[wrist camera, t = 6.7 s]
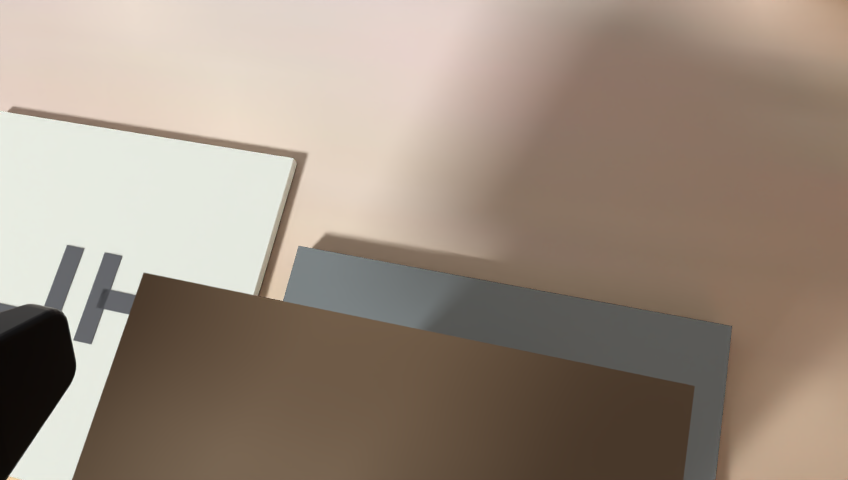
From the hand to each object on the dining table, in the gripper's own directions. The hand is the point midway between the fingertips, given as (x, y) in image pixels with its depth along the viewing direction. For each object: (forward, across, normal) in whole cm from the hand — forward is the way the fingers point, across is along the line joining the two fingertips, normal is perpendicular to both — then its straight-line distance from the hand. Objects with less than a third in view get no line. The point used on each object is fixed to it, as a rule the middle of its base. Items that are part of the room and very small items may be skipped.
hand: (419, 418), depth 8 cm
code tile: (+7, +10, +5) cm, 14 cm away
